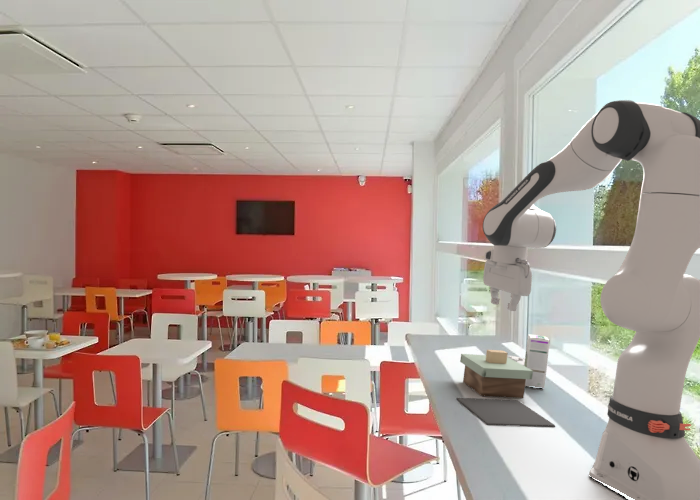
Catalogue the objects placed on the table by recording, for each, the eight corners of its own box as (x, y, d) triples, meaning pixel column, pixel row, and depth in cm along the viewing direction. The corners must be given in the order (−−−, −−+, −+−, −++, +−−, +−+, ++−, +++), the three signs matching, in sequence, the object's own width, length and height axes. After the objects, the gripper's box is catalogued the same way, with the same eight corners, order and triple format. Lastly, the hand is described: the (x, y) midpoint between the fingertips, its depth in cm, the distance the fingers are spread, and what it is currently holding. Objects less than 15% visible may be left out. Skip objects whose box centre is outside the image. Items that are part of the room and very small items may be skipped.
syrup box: (544, 390, 159) (551, 340, 158) (523, 386, 160) (529, 336, 159) (541, 384, 165) (548, 336, 164) (521, 381, 166) (527, 333, 165)
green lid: (531, 379, 147) (534, 359, 147) (482, 376, 144) (485, 356, 144) (505, 364, 161) (507, 346, 161) (460, 361, 158) (462, 343, 158)
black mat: (554, 426, 128) (555, 425, 128) (487, 424, 124) (487, 423, 124) (517, 401, 145) (517, 400, 145) (456, 399, 141) (456, 397, 141)
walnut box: (523, 398, 149) (526, 372, 148) (482, 396, 146) (485, 370, 145) (501, 383, 160) (504, 360, 160) (462, 382, 157) (466, 357, 157)
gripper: (541, 262, 142) (533, 315, 142) (502, 254, 161) (496, 301, 162) (518, 259, 140) (511, 313, 141) (482, 252, 160) (476, 299, 161)
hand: (502, 307), depth 152 cm, fingers open, 8 cm apart
